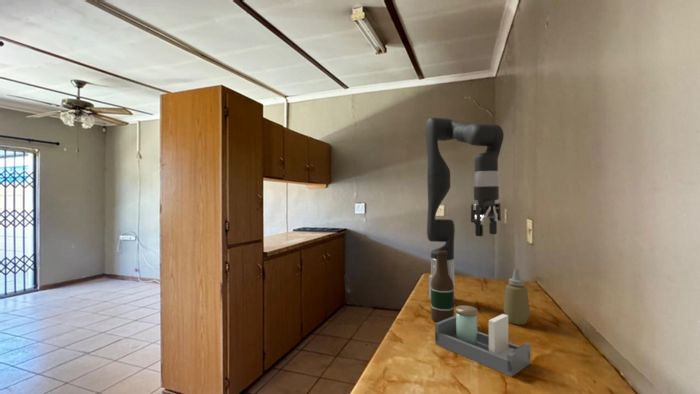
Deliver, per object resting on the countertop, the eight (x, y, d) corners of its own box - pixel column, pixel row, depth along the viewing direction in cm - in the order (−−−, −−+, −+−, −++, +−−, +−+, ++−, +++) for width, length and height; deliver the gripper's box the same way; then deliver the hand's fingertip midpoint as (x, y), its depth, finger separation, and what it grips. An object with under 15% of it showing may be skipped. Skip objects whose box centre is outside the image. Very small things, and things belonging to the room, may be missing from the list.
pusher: (488, 359, 83) (488, 320, 83) (502, 350, 88) (502, 313, 88) (506, 366, 80) (506, 325, 80) (519, 357, 84) (519, 318, 84)
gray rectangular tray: (435, 344, 95) (435, 323, 95) (455, 334, 101) (455, 315, 101) (511, 376, 77) (511, 351, 77) (530, 363, 83) (530, 340, 83)
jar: (451, 343, 93) (451, 308, 93) (463, 337, 96) (463, 304, 96) (470, 351, 88) (470, 314, 88) (481, 344, 92) (481, 309, 92)
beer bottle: (455, 317, 115) (455, 249, 115) (452, 325, 108) (452, 253, 108) (432, 314, 118) (432, 248, 118) (428, 321, 111) (428, 251, 111)
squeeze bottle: (533, 327, 106) (533, 272, 106) (506, 325, 108) (506, 271, 108) (525, 318, 114) (525, 266, 114) (500, 316, 115) (500, 266, 115)
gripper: (485, 184, 99) (485, 238, 99) (508, 185, 108) (508, 234, 108) (463, 185, 105) (463, 235, 105) (486, 186, 114) (487, 232, 114)
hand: (486, 235), depth 106 cm, fingers open, 8 cm apart
